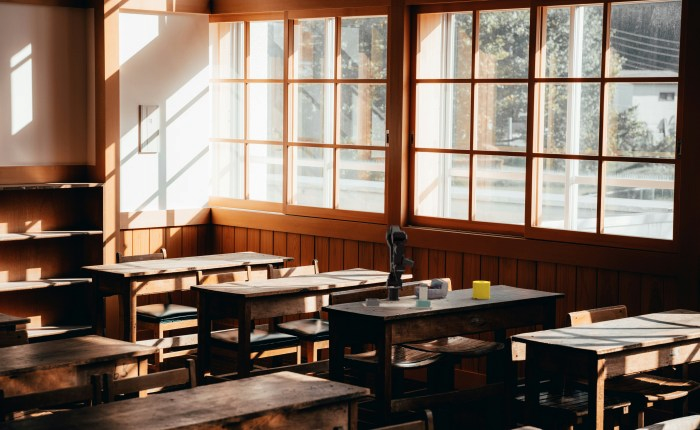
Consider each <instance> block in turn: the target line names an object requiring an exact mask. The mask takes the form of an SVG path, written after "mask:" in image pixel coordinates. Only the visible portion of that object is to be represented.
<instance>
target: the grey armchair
mask: <svg viewBox="0 0 700 430" xmlns="http://www.w3.org/2000/svg"><path fill="white" fill-rule="evenodd" d="M419 288H420V286H414V288H413V290H414V294H415V295H414V296H415V297H417V298H419ZM448 292H449V282H447V281H443V280H441V279H439V278H433V279H432V280H431V281H430V285H428V293H427V300H434V299H441V298H443V297H444V298H445V297H447V296H448Z"/></svg>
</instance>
